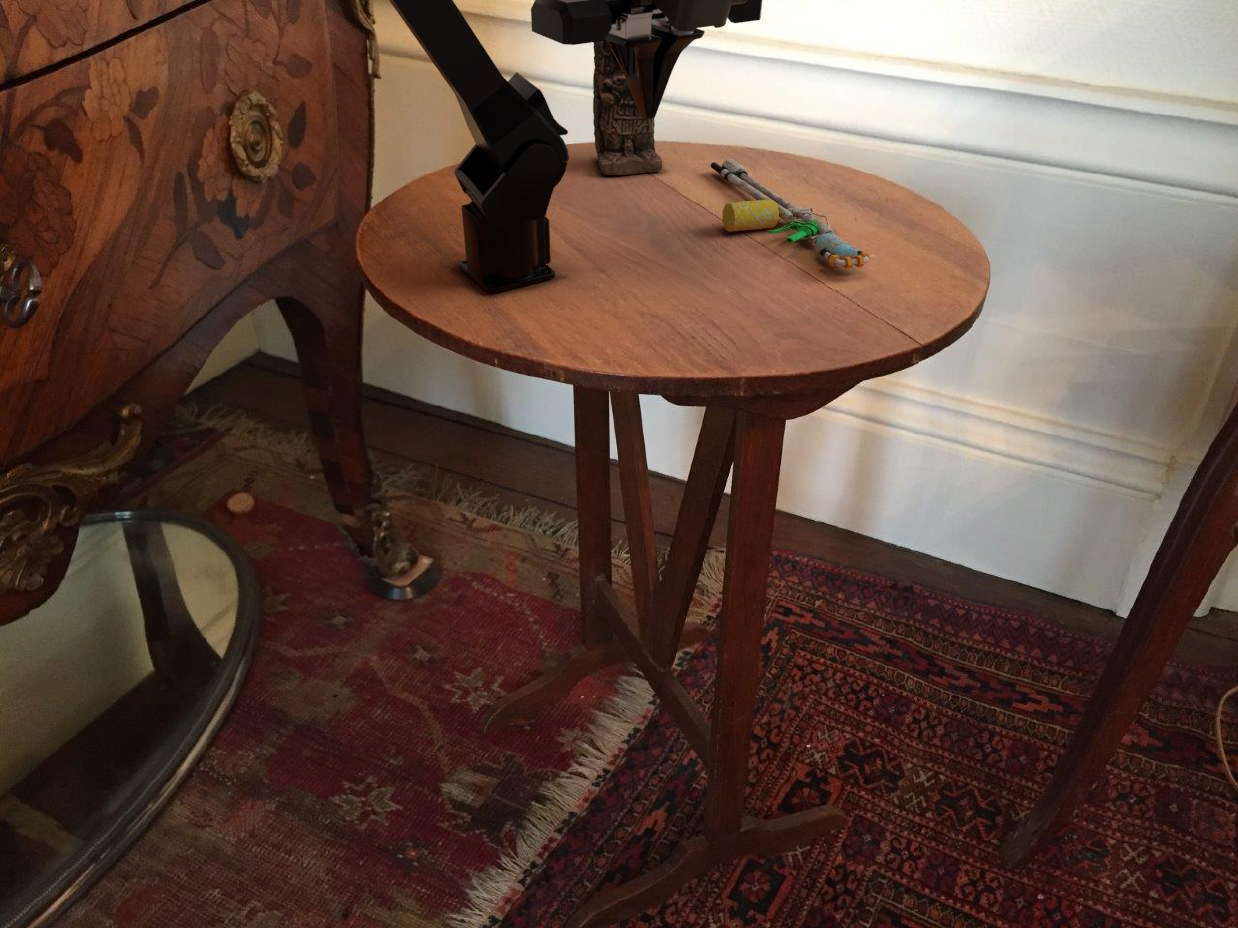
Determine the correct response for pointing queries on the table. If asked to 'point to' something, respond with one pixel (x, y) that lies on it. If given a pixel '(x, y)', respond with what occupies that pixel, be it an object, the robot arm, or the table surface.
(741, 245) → the table surface
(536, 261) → the robot arm
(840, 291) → the table surface
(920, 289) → the table surface
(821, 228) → the flamethrower
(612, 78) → the statue
